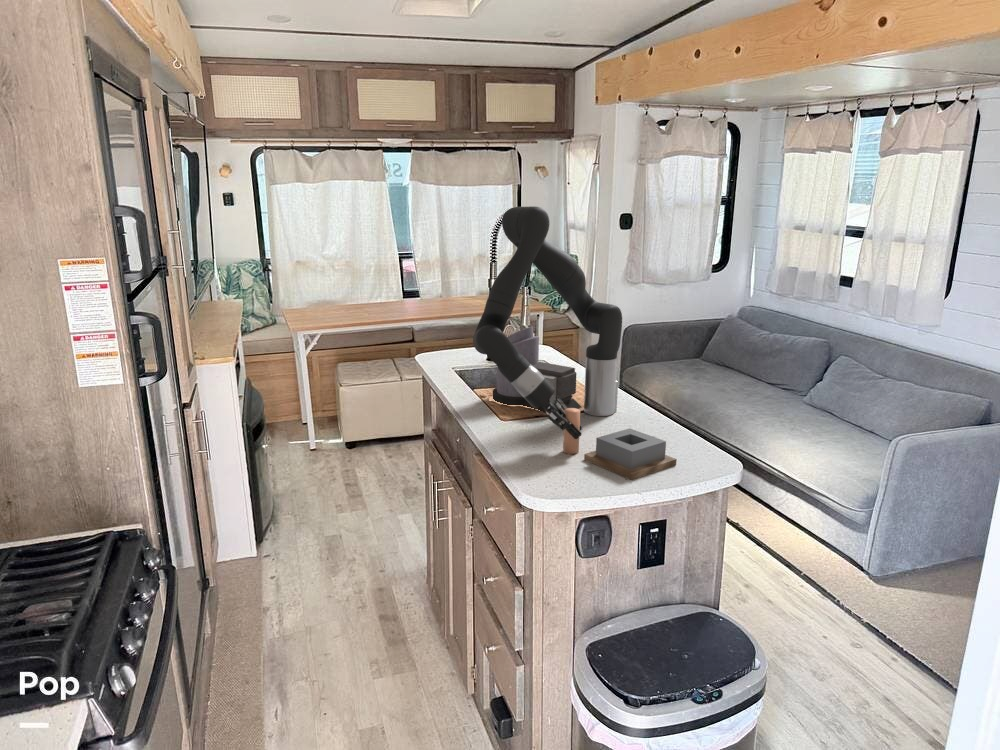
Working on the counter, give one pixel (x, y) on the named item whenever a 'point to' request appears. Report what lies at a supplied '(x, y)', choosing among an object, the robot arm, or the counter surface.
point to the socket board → (626, 471)
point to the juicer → (555, 374)
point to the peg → (569, 442)
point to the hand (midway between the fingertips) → (579, 433)
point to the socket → (630, 448)
